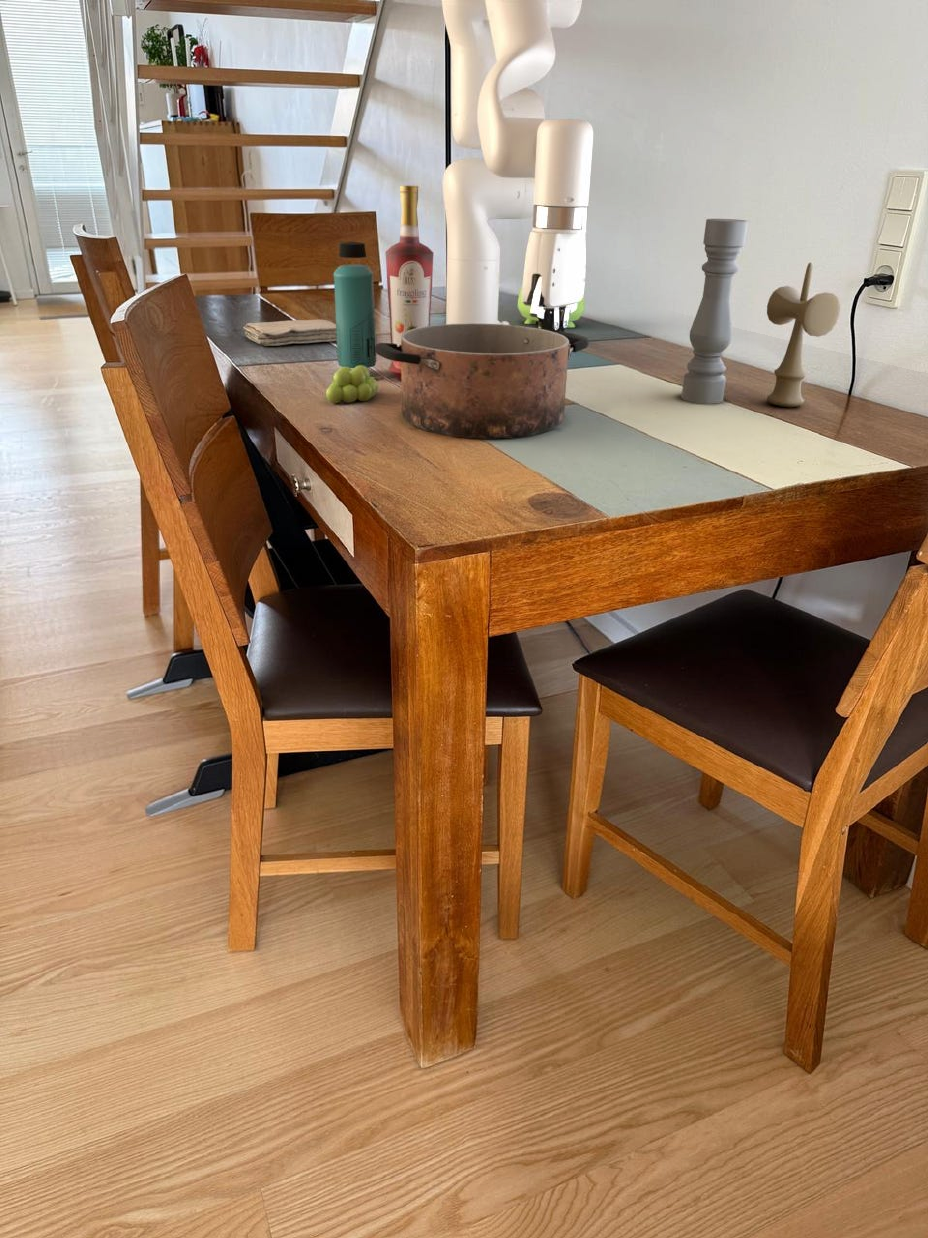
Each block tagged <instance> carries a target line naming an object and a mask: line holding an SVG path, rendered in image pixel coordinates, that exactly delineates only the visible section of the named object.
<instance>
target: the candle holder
mask: <svg viewBox="0 0 928 1238" xmlns="http://www.w3.org/2000/svg"><path fill="white" fill-rule="evenodd" d="M748 224H749V221H748V220H746V219H735V218H734V219H733V218H732V219H731V218H706V220H705V228H704V235H703V242H702V243H703V245H704V252H705V254H706V255H705V256H706V258H707V261H706V262H704V263H703V264H702V265H701V271H703V272H704V276H705V277H704V282H703V283H704V284H703V291H702V297H701V300H700V303H699V306H698V309H697V311H696V314H695V317H694V320H693V323H692V324H691V327H690V331H689V341H690V344H691V346H692V348H693V351H692V353H693V355H694V357H692V358H691V359H690V362H688V363H687V365H686V369H687V371H688V372H686V373H685V374H683V381H682V389H681V396H680V397H681V399H682V400H683V401H686V402H688V403H693V404H702V405H713V404H715V405H716V404H720V403H722V402H723V401H724V396H725V395H724V394H725V388H726V381H727V378H726V376H725V375H723V374H724V373H726V370H727V366H726V365H725V364H724V361H723V359H722V357H723V356H724V355H725V354H724V352H725V350H727V348H728V347H729V346H730V345H731V342H732V341H733V325H732V324H733V323H732V311H731V294H732V286H733V279H734V277H735V275H736V274H737V273H739V271H740V266H739V265H738V264H737V263H736V260H737V259H738V257H739V255H740V254H741V253H742V250H743V247H744V246H745V244H746V238H747V231H748Z"/></svg>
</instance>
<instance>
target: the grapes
mask: <svg viewBox="0 0 928 1238" xmlns="http://www.w3.org/2000/svg"><path fill="white" fill-rule="evenodd" d="M383 380H385V376H384V375H378V376H375V377H373V376H371V373H370V370H369V368H366V367H365V366H362V365H359V366H356V367H355V368H349V367H346V366H344V367H341V366H340V368H338V370H336V371H335V372H334V374H333V378H332V381H333V382H331V383H330V385H329V386H328V387H327V388H326V391H325V397H326V399H327V401H329V402H330V403H331V404H339V403H340V402H342V401H343V402H345V403H354V402H355V401H357V400H358V401H360V402H367V401H369V400H371V398H373V397H374V396H375V395H376V393H377V391H378V387H379V384H378V382H379V381H383Z"/></svg>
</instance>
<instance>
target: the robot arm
mask: <svg viewBox="0 0 928 1238" xmlns="http://www.w3.org/2000/svg"><path fill="white" fill-rule="evenodd" d="M582 5H583V0H441V8H442V12H443V13H442V14H443V19H444V24H445V28H446V32H447V33H446V34H447V36H448V40H449V45H450V46H449V47H450V51H451V129H452V135H453V136H452V137H453V138H454V141H455V143H456V144H457V145H458V146H460V147H461V148H464V149H471V150H481V153H482V156H483V157H481V158H480V157H471V158H462V159H458V160H455V161H453V162H451V163H450V164H449V165H448V166H447V167H446V168H445V171H444V174H443V175H442V196H443V203H444V212H445V213H444V214H445V221H446V222H445V223H446V300H445V301H446V307H445V308H446V310H445V315H446V316H445V318H446V319H445V324H468V323H474V324H503V325H510V323H509V322H508V321H507V320H503V321H500V320H499V318H498V317H499V294H500V293H499V291H500V265H501V263H500V262H501V247H500V242H499V240H498V237H497V236H496V234H495V233H494V231H493V229H492V228H491V226H490V225H489V223H488V221H489V220H525V219H530V218H532V223H531V224H532V225H531V226H532V230H531V231H530V233H529V236H528V240H527V246H526V249H525V250H526V251H525V258H524V266H523V275H522V286H521V287H522V302H523V304H524V305H527V306H531V310H530V315H531V316H532V317H535V318H538V320H539V321H538V327H540V328H539V329H543V330H548V331H552V332H560V331H561V332H566V328H568V327H567V325H568V318H569V315H570V313H572V312H573V311H575V310H576V309H577V303H578V302H579V301H580V300H581V299H582V298H583V295H584V292H585V286H586V271H587V270H586V268H587V267H586V266H587V265H586V264H587V248H586V247H587V246H586V245H587V244H586V233H587V226H588V213H589V198H590V186H591V185H590V184H591V172H592V161H593V160H592V158H593V146H594V129H593V126H592V124H591V123H590V122H589V121H588V120H585V119H584V120H583V119H577V118H575V119H573V118H546V111H545V106H544V102H543V100H542V98H541V96H540V95H539V93H538V92H537V91H536V90H533V89H532V88H528V87H530V86H532V85H534V84H535V83H538V82H539V81H540V80H542V79H543V78H545V76H546V75H548V73H549V72H550V70H551V69H552V68H553V66H554V63H555V60H556V47H555V41H554V36H553V32H552V29H567V28H570V27H572V25H574V24H575V22H576V21H577V19H578V18H579V16H580V13H581V10H582ZM487 21H488V22H487Z"/></svg>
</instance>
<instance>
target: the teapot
mask: <svg viewBox="0 0 928 1238" xmlns="http://www.w3.org/2000/svg"><path fill="white" fill-rule="evenodd" d="M585 307H586V306H585V295H584V294H583V298H582V299H581V300H580V301H579V302H578V303H577V309H576V310H575V311H573V312H572V313H570V315H569V318H568V325H567V327H566V328H575V327H576V324H575V323H574V322H573V321H578V320H579V319H580V318H581V317H582V315H583V314H584V311H585ZM517 309H518V311H519V313H520V315H521V316H522V317H523V318H525V319H526V320H525V321H524V324H527V325H536V324H537V322H539V320H538V318H535V317H532V316H531V315H530V310H531V306H527V305H524V304H523V302H522V286H521V287H520V290H519V295H518V299H517ZM537 328H538V329H541V328H540V327H539V326H538V327H537Z"/></svg>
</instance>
